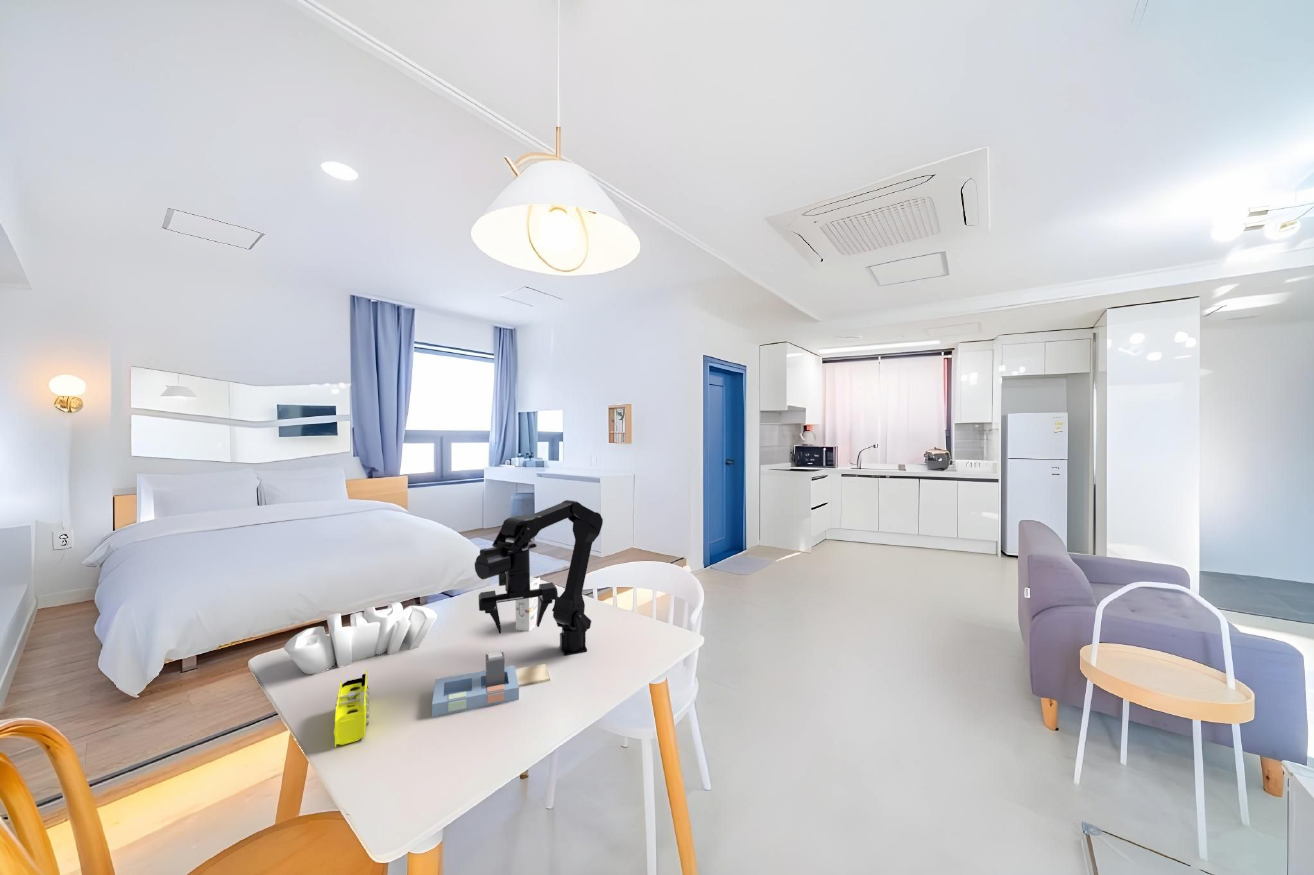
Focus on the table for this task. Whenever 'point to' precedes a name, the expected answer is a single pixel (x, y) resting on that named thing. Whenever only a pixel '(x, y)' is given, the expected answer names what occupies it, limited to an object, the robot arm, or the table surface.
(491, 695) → the dock
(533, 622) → the ink cartridge box
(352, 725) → the yellow toy chassis
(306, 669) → the wavy white extrusion
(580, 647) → the robot arm
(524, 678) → the coaster
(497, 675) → the plug
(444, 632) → the table surface
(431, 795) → the table surface
